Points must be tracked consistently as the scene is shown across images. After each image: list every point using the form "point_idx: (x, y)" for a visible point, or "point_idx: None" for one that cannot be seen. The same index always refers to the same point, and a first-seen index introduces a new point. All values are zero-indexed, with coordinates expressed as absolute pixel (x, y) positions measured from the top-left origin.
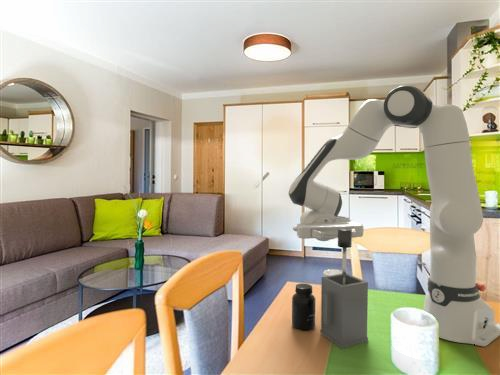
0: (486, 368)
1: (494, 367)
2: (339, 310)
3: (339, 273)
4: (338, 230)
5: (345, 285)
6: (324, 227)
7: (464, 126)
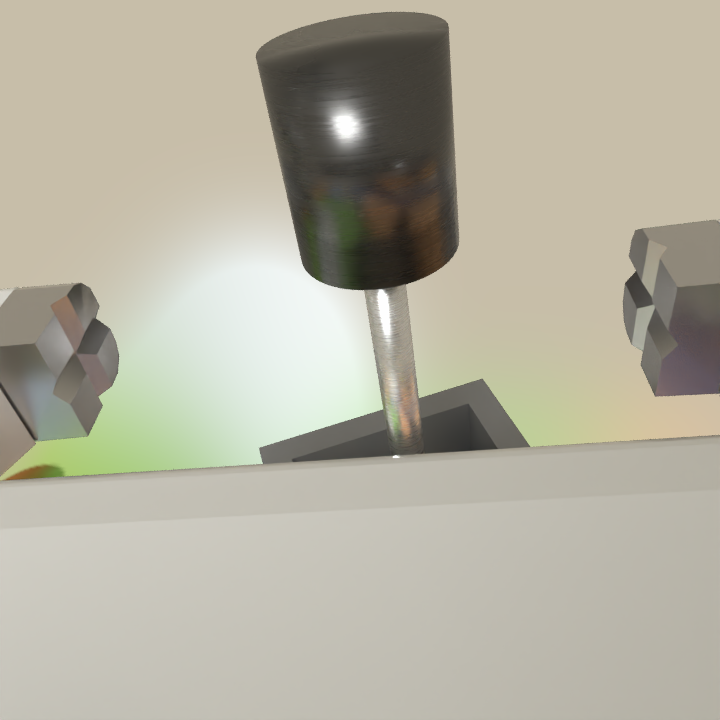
0: (44, 469)
1: (16, 473)
2: None
3: None
4: (447, 26)
5: (449, 400)
6: (611, 444)
7: None
